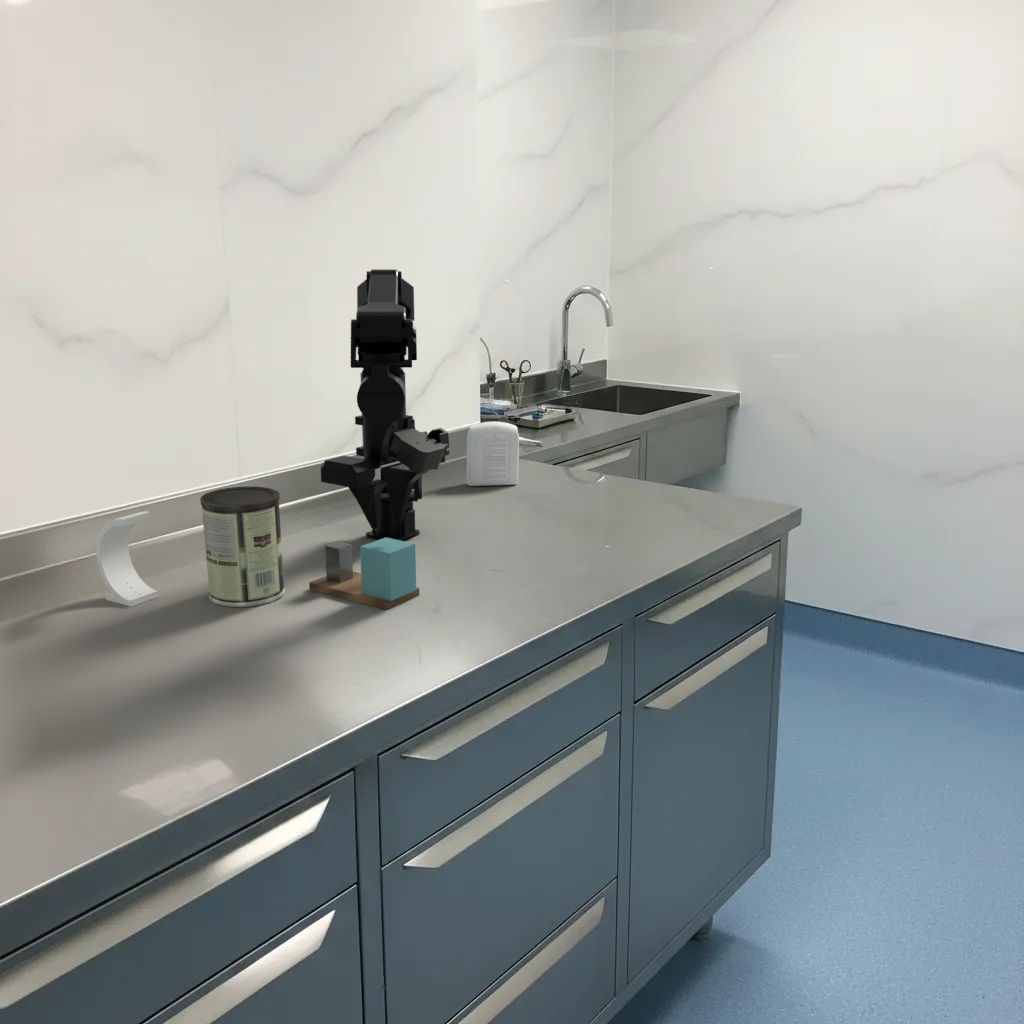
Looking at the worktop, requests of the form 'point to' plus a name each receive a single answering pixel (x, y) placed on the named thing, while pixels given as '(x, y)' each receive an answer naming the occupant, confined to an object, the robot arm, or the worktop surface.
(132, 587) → the headphone stand
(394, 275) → the robot arm
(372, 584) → the turquoise upright block
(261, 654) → the worktop surface
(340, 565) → the dark metal post
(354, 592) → the walnut strip
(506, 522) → the worktop surface
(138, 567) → the worktop surface
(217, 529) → the coffee can
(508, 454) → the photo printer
